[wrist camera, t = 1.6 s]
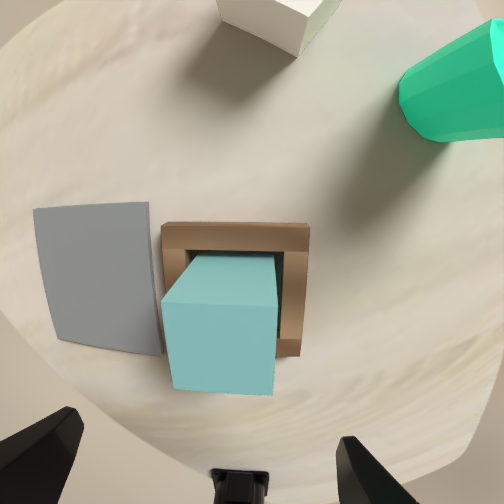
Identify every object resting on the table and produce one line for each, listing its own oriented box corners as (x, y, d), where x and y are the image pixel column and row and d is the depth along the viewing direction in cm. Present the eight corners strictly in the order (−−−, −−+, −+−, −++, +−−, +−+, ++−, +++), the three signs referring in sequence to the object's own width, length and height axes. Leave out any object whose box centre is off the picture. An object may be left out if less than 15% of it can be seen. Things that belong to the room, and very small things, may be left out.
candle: (473, 119, 16) (589, 106, 5) (430, 158, 17) (561, 162, 6) (430, 54, 15) (531, -3, 4) (381, 88, 16) (490, 21, 5)
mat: (163, 353, 22) (161, 356, 22) (60, 336, 23) (57, 338, 22) (148, 201, 19) (145, 202, 19) (36, 208, 20) (32, 209, 19)
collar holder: (298, 345, 21) (299, 356, 20) (178, 340, 22) (173, 350, 20) (306, 223, 19) (309, 227, 18) (168, 222, 19) (160, 225, 18)
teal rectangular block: (271, 320, 21) (272, 395, 13) (202, 317, 21) (173, 388, 14) (273, 253, 20) (277, 306, 12) (199, 252, 20) (160, 301, 12)
